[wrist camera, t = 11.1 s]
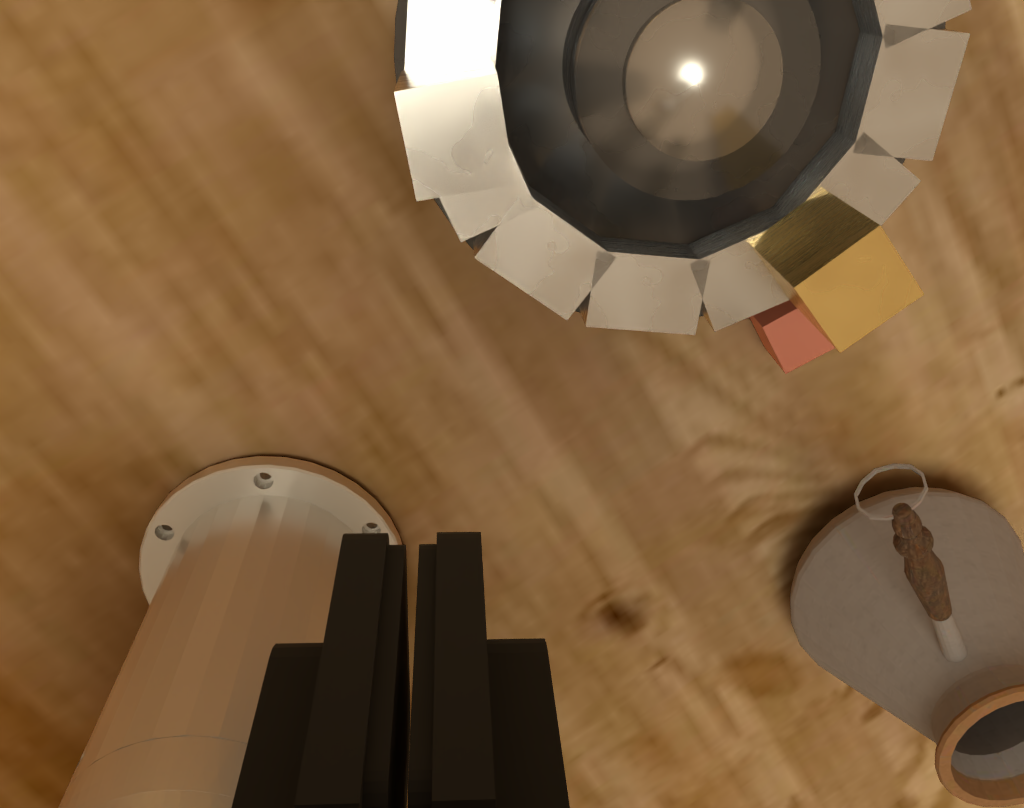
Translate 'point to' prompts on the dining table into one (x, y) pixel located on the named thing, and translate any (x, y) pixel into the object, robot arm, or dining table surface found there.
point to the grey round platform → (667, 105)
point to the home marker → (789, 336)
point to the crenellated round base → (720, 255)
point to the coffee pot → (926, 626)
